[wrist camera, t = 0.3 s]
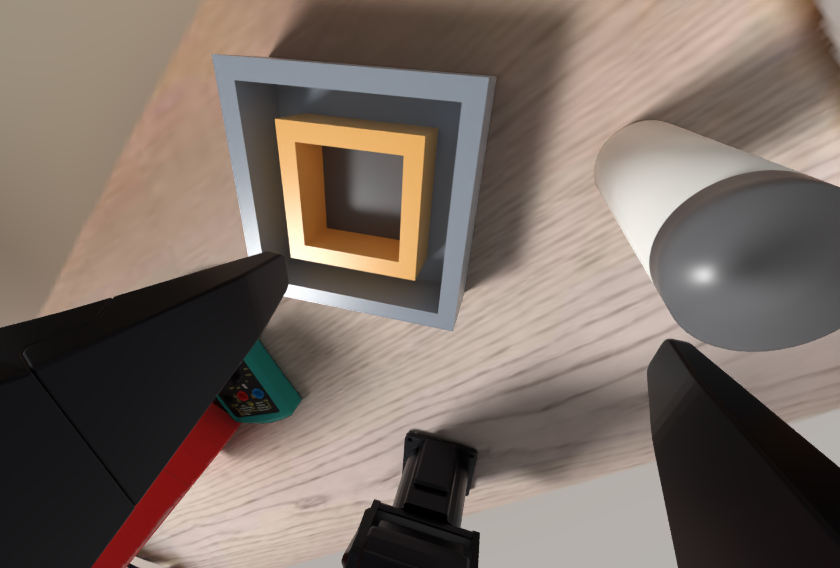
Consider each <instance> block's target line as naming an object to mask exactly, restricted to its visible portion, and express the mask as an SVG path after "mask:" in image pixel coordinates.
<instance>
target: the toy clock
mask: <svg viewBox="0 0 840 568" xmlns="http://www.w3.org/2000/svg"><path fill="white" fill-rule="evenodd" d="M241 424H242V423H240V422H236V421H235V420H234V419H232V417H231V416H230V415H229V413H227V412H226V411H224V410H223V409H221V408H220V407H218V406H217V405H215V404H214V403H211V405H210V406H209V407H208V409H207V410H206V411H205V413H204V414H203V415H202V417H201V418H200V420H199V421H198V422H197V424H196V425H195V426H194V428H193V429H192V431H191V432H190V433H189V435H188V436H187V437H186V439H185V440H184V441H183V443H182V444H181V446H180V447H179V448H178V450H177V451H176V452H175V454H174V455H173V456H172V458H171V459H170V461H169V462H168V463H167V465H166V466H165V467H164V469H163V470H162V472H161V473H160V474H159V476H158V477H157V478H156V480H155V481H154V482H153V484H152V485H151V487H150V488H149V489H148V491H147V492H146V493H145V495H144V496H143V497H142V499H141V500H140V502H139V503H138V504H137V505H135V509H134V510H133V512H132V513H131V514H130V516H129V517H128V518H127V520H126V521H125V522H124V524H123V525H122V527H121V528H120V529H119V531H118V532H117V533H116V535H115V536H114V538H113V539H112V540H111V542H110V543H109V544H108V546H107V547H106V548H105V550H104V551H103V553H102V554H101V555H100V557H99V558H98V559H97V561H96V562H95V563H94V565H93V566H92V568H126V567H127V566H128V564H129V563H130V562H131V561H132V560H133V558H134V557H135V556H136V555H137V553H138V552H139V551H140V550H141V548H142V547H143V546H144V545H145V544H146V542H147V541H148V540H149V539H150V537H151V536H152V535H153V534H154V532H155V531H156V530H157V529H158V527H159V526H160V525H161V524H162V523H163V521H164V520H165V519H166V518H167V516H168V515H169V514H170V513H171V511H172V510H173V509H174V508H175V506H176V505H177V504H178V503H179V502H180V500H181V499H182V498H183V497H184V495H185V494H186V493H187V492H188V490H189V489H190V488H191V487H192V485H193V484H194V483H195V482H196V480H197V479H198V478H199V477H200V476H201V474H202V473H203V472H204V471H205V469H206V468H207V467H208V466H209V464H210V463H211V462H212V461H213V459H214V458H215V457H216V456H217V454H218V453H219V452H220V451H221V449H222V448H223V447H224V446H225V444H226V443H227V442H228V441H229V439H230V438H231V437H232V436H233V434H234V433H235V432H236V431H237V429H238V428H239V427H240V426H241Z"/></svg>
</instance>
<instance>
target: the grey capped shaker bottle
mask: <svg viewBox="0 0 840 568" xmlns="http://www.w3.org/2000/svg"><path fill="white" fill-rule="evenodd" d="M594 178H595V183H596V186H597V188H598V190H599V191H600V193H601V195H602V197H603V198H604V200H605V202H606V203H607V205H608V207H609V209H610V210H611V212H612V214H613V215H614V217H615V219H616V221H617V222H618V224H619V226H620V227H621V229H622V231H623V233H624V234H625V236H626V238H627V239H628V241H629V243H630V245H631V246H632V248H633V250H634V251H635V253H636V255H637V257H638V258H639V260H640V262H641V263H642V265H643V267H644V269H645V270H646V272H647V274H648V275H649V277H650V279H651V281H652V282H653V284H654V286H655V287H656V289H657V291H658V293H659V294H660V296H661V298H662V299H663V301H664V303H665V305H666V306H667V308H668V310H669V311H670V313H671V315H672V317H673V318H674V320H675V321H676V322H677V323H678V325H679V326H680V327H681V328H683V329H684V330H685V331H686V332H687V333H688V334H690V335H691V336H693V337H694V338H696V339H698V340H700V341H702V342H704V343H707V344H710V345H712V346H715V347H719V348H723V349H728V350H735V351H747V352H759V351H772V350H780V349H785V348H790V347H795V346H798V345H802V344H805V343H808V342H811V341H814V340H816V339H819V338H822V337H824V336H826V335H828V334H830V333H832V332H834V331H836V330H838V329H840V187H838V186H835V185H832V184H830V183H827V182H824V181H822V180H819V179H816V178H814V177H811V176H808V175H806V174H803V173H800V172H798V171H795V170H792V169H790V168H787V167H784V166H782V165H779V164H776V163H774V162H771V161H768V160H766V159H763V158H760V157H758V156H755V155H752V154H750V153H747V152H744V151H742V150H739V149H736V148H734V147H731V146H728V145H726V144H723V143H721V142H718V141H715V140H713V139H710V138H707V137H705V136H702V135H699V134H697V133H694V132H691V131H689V130H686V129H683V128H681V127H678V126H675V125H673V124H670V123H667V122H664V121H659V120H645V121H640V122H636V123H633V124H630V125H628V126H626V127H624V128H622V129H621V130H619V131H618V132H616V133H615V134H614V135H613V136H611V137H610V138H609V139H608V141H607V142H606V143H605V144H604V145H603V147H602V148H601V150H600V152H599V154H598V156H597V159H596V162H595V166H594Z"/></svg>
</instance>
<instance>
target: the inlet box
mask: <svg viewBox="0 0 840 568" xmlns="http://www.w3.org/2000/svg"><path fill="white" fill-rule="evenodd" d="M212 59H213V64H214V70H215V75H216V81H217V86H218V92H219V97H220V103H221V108H222V114H223V119H224V125H225V130H226V136H227V141H228V147H229V153H230V158H231V164H232V169H233V175H234V180H235V186H236V191H237V197H238V202H239V208H240V213H241V219H242V224H243V230H244V236H245V241H246V247H247V252H248V257H249V256H252V255H256V254H259V253H262V252H266V251H270V252H275V253H280V254H282V255H283V256H284V257H285V260H286V266H287V273H288V279H289V285H288V288H287V291H286V293H285V294H284V297H289V298H294V299H299V300H304V301H309V302H313V303H318V304H323V305H328V306H333V307H338V308H342V309H347V310H352V311H357V312H362V313H367V314H371V315H376V316H381V317H386V318H391V319H395V320H400V321H405V322H410V323H415V324H420V325H424V326H429V327H434V328H439V329H444V330H449V331H453V330H454V327H455V323H456V320H457V316H458V313H459V309H460V306H461V302H462V299H463V296H464V291H465V285H466V278H467V272H468V265H469V258H470V252H471V245H472V238H473V232H474V225H475V219H476V212H477V205H478V199H479V192H480V186H481V179H482V172H483V166H484V159H485V152H486V146H487V139H488V133H489V126H490V119H491V113H492V106H493V99H494V93H495V86H496V80H497V76H489V75H477V74H465V73H453V72H441V71H429V70H417V69H405V68H393V67H381V66H369V65H357V64H345V63H333V62H321V61H309V60H297V59H285V58H274V57H258V56H239V55H219V54H212Z"/></svg>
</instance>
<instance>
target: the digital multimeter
mask: <svg viewBox="0 0 840 568" xmlns="http://www.w3.org/2000/svg"><path fill="white" fill-rule="evenodd" d="M241 376H242V377H241ZM216 398H217V399H218V400H219V402H220V403H221V404H222V405H223V407H224V408H225V409H226V411H227V412H228V413H229V415H230V416H231V417H232V419H234V420H235V421H236V422H240V423H271V422H275V421H278V420H281V419H284V418H286V417H288V416H290V415H292V414H293V412H294V411H295V409H296V408H297V406H298V405H299V403H300V402H301V398H300V396H299V395H298V393H297V392H296V390H295V389H294V388H293V386H292V385H291V384H290V382H289V381H288V380H287V378H286V377H285V376H284V374H283V373H282V371H281V370H280V369H279V367H278V366H277V364H276V363H275V362H274V360H273V359H272V357H271V356H270V355H269V353H268V352H267V350H266V349H265V348H264V346H263V345H262V343H261V342H260V340H259V339H258V340H257V342H256V343H255V344H254V346H253V347H252V349H251V350H250V351H249V353H248V354H247V355H246V357H245V358H244V359H243V361H242V362H241V364H240V365H239V366H238V368H237V369H236V370H235V372H234V373H233V374H232V376H231V377H230V379H229V380H228V381H227V383H226V384H225V385H224V387H223V388H222V390H221V391H220V392H219V394H218V395H217V396H216Z"/></svg>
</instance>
